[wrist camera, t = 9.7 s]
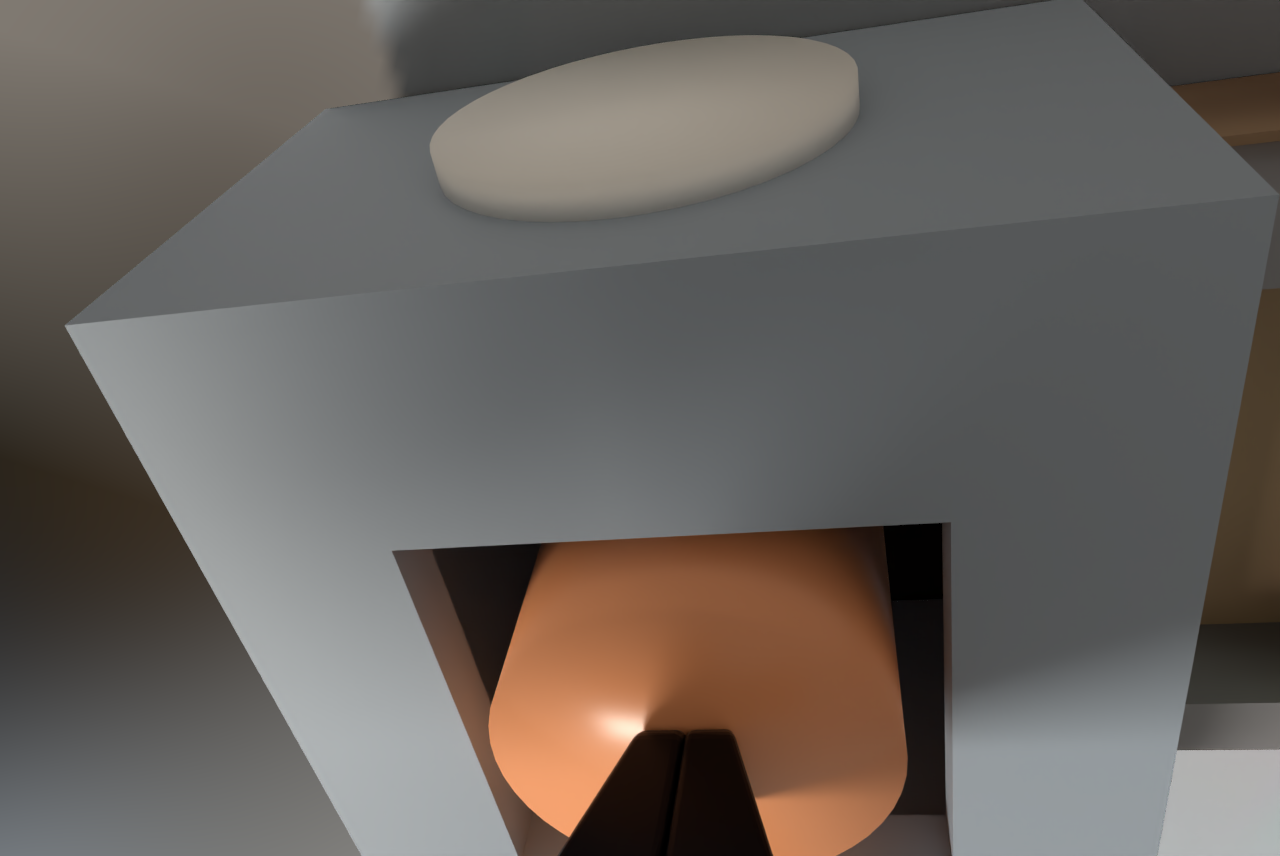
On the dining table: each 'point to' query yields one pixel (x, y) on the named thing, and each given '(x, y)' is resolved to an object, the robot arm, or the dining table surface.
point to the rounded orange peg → (712, 673)
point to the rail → (1245, 479)
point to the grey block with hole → (721, 395)
